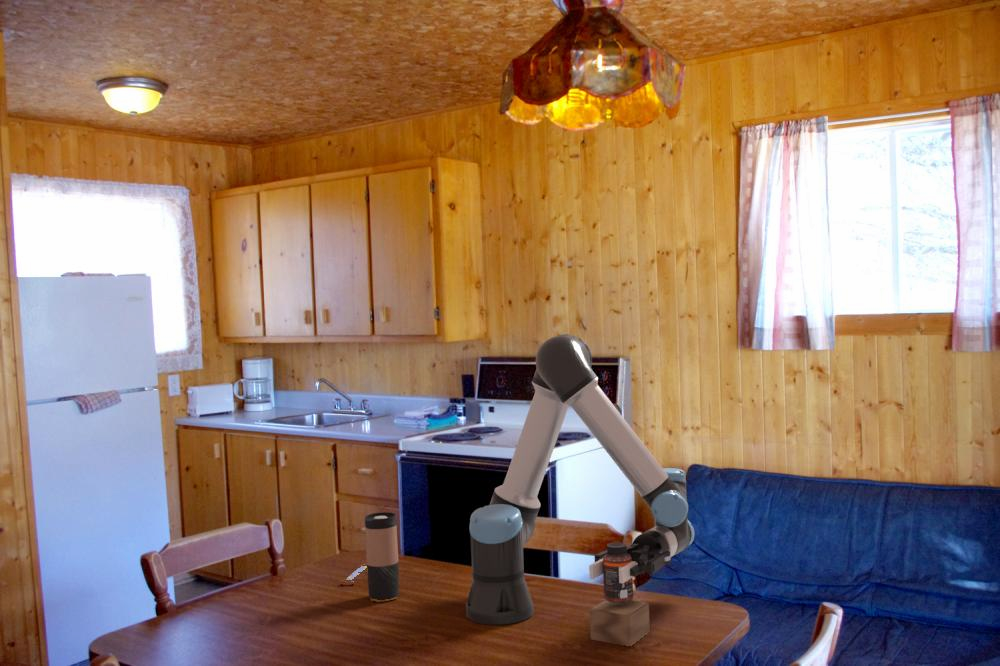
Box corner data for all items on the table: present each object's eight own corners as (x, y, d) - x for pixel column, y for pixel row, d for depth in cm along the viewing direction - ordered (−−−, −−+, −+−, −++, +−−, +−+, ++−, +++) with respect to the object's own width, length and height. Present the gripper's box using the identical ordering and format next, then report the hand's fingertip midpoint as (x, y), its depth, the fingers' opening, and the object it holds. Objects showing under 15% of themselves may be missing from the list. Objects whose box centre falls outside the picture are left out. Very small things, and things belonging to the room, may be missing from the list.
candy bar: (354, 588, 223) (353, 581, 223) (338, 588, 223) (338, 580, 223) (376, 569, 239) (376, 562, 239) (361, 569, 240) (361, 562, 240)
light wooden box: (590, 639, 178) (589, 608, 178) (610, 625, 186) (609, 595, 186) (630, 646, 173) (629, 615, 173) (649, 632, 181) (648, 602, 181)
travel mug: (401, 592, 216) (397, 511, 216) (398, 601, 208) (394, 518, 208) (370, 593, 216) (366, 513, 215) (366, 603, 208) (362, 520, 208)
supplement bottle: (632, 604, 176) (630, 548, 176) (603, 603, 177) (600, 548, 177) (634, 595, 182) (631, 540, 182) (605, 594, 183) (603, 540, 183)
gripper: (695, 568, 189) (650, 599, 170) (616, 559, 200) (565, 586, 180) (693, 534, 189) (648, 561, 170) (615, 526, 199) (564, 550, 180)
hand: (605, 574), depth 175 cm, fingers closed on supplement bottle, 6 cm apart
